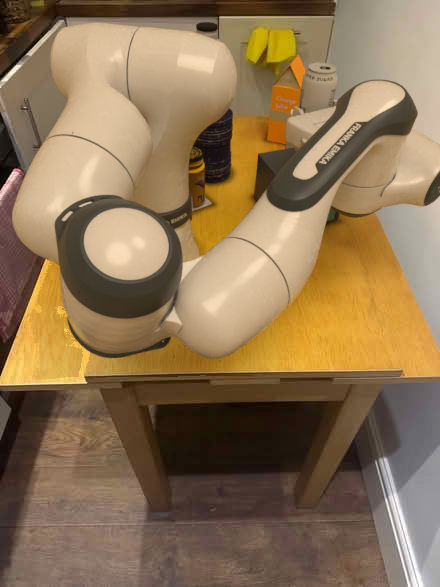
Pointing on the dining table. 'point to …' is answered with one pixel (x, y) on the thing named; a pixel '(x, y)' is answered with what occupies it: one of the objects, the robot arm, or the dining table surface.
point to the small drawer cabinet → (273, 170)
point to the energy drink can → (318, 87)
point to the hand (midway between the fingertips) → (311, 106)
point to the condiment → (197, 179)
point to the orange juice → (285, 99)
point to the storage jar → (217, 148)
